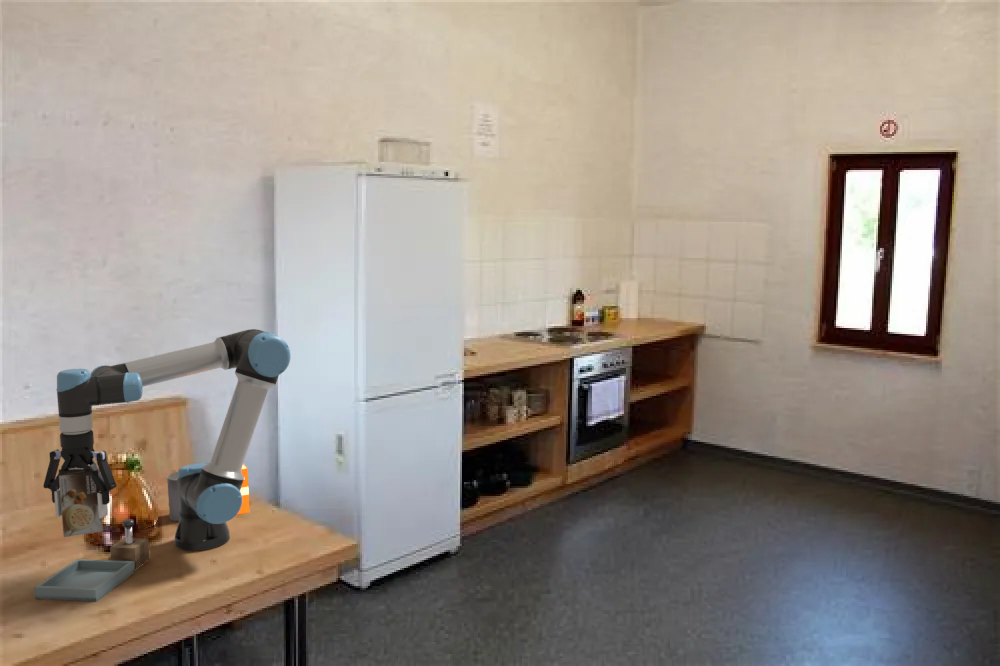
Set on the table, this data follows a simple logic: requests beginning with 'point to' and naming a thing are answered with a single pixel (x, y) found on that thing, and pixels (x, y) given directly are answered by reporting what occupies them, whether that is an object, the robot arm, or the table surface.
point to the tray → (84, 580)
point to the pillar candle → (173, 496)
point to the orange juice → (244, 491)
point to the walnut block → (131, 551)
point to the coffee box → (79, 502)
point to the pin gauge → (128, 531)
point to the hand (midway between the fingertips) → (81, 515)
